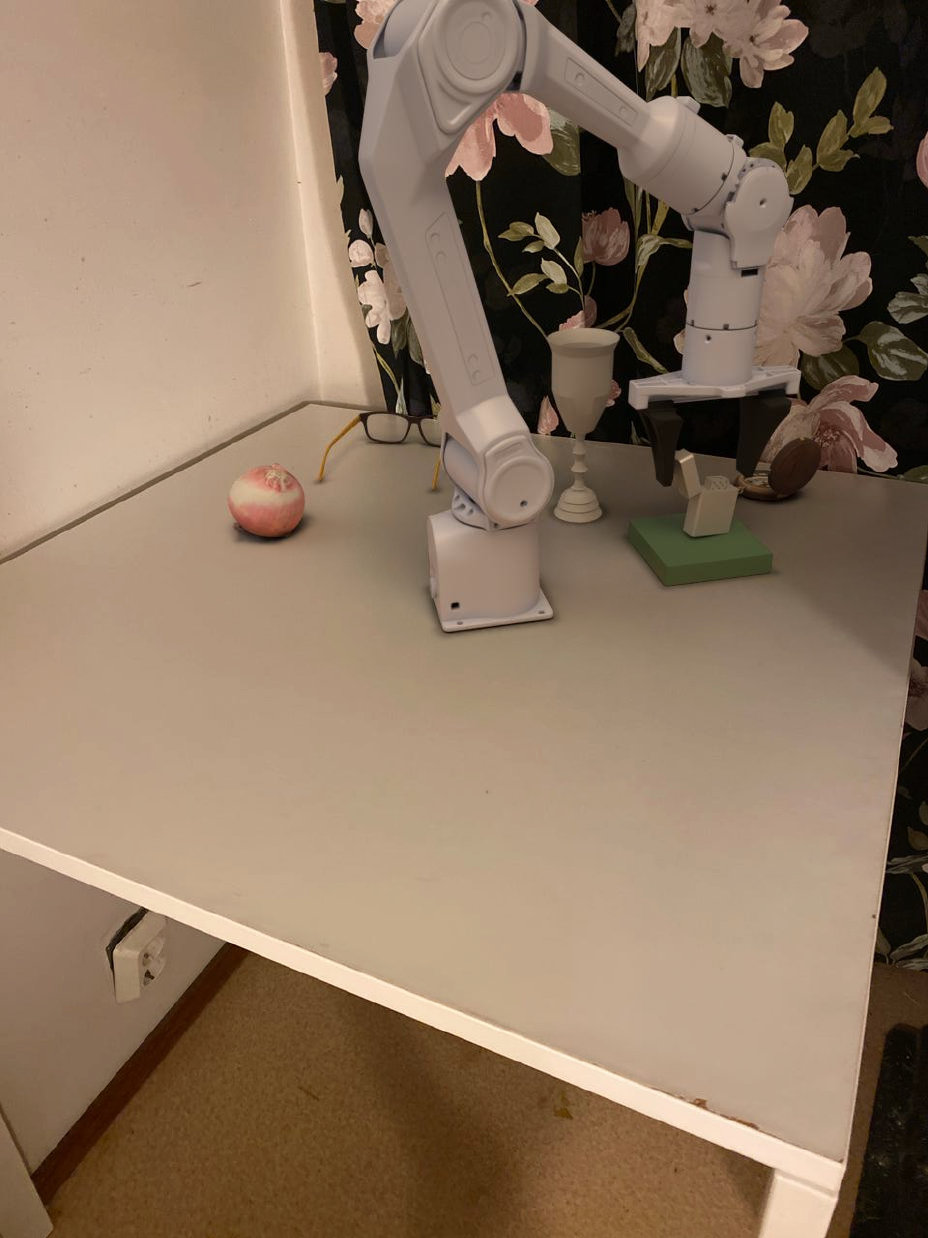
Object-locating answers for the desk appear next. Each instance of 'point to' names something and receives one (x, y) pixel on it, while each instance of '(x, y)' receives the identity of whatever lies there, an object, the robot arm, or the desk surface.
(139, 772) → the desk surface
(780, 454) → the compass
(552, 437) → the desk surface
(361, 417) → the eyeglasses
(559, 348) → the chalice
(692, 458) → the lighter
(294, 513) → the onion
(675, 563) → the block
